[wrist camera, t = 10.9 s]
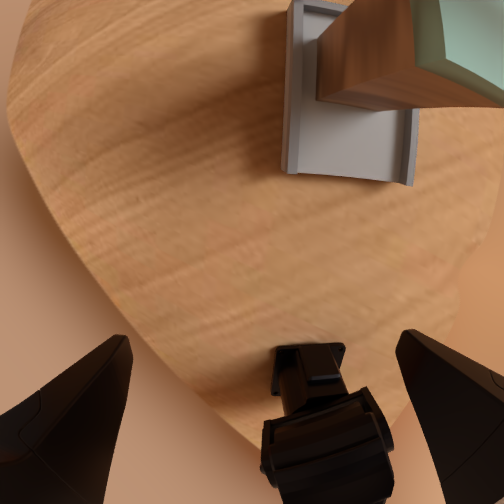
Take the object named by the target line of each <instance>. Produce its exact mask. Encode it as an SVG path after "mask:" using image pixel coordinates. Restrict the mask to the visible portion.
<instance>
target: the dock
mask: <svg viewBox="0 0 504 504" xmlns="http://www.w3.org/2000/svg"><path fill="white" fill-rule="evenodd" d="M347 7H348V6H345V5H341V4H336V3H332V2H327V1H322V0H292V1H291V3H290V5H289V7H288V9H287V35H286V67H285V93H284V115H283V136H282V154H281V170H283V171H284V172H285V173H287V174H297V173H311V174H323V175H335V176H345V177H355V178H364V179H373V180H381V181H389V182H396V183H401V184H403V185H406V186H413V182H414V174H415V165H416V155H417V144H418V129H419V108H418V109H403V110H391V111H381V112H377V111H373V110H368V109H363V108H358V107H352V106H347V105H341V104H335V103H328V102H322V101H315V97H316V69H317V38H318V37H319V36H320V35H321V34H322V33H323V32H324V31H325V30H326V29H327V27H328V26H329V25H330V24H331V23H332V22H333V21H334V20H335V19H336V18H337V17H338V16H339V15H340V14H341V13H342V12H343V11H344V10H345V9H346V8H347Z"/></svg>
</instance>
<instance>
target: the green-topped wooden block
mask: <svg viewBox="0 0 504 504" xmlns="http://www.w3.org/2000/svg"><path fill="white" fill-rule="evenodd" d="M315 101H322V102H328V103H335V104H341V105H347V106H352V107H358V108H363V109H368V110H373V111H377V112H381V111H391V110H403V109H418V108H439V107H489V108H504V0H355V1H354V2H353V3H352V4H351V5H349V6H348V7H347V8H346V9H345V10H344V11H343V12H342V13H341V14H340V15H339V16H338V17H337V18H336V19H335V20H334V21H333V22H332V23H331V24H330V25H329V26H328V27H327V29H326V30H325V31H324V32H323V33H322V34H321V35H320V36H319V37H318V38H317V69H316V97H315Z"/></svg>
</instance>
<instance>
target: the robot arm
mask: <svg viewBox="0 0 504 504" xmlns="http://www.w3.org/2000/svg"><path fill="white" fill-rule="evenodd" d="M339 348H340V349H339ZM345 350H346V347H345V345H344V344H343V343H331V344H316V345H297V346H280V347H278V348H277V349H276V351H275V359H274V367H273V375H272V383H271V395H272V396H281V399H282V405H283V410H284V415H285V416H284V417H281V418H277V419H273V420H271V419H270V420H266V421H264V428H263V429H262V447H261V465H260V471H261V472H262V473H263V474H265V475H266V476H267V478H268V480H269V482H270V484H271V485H272V486H273V488H278V489H279V492H280V495H281V498H282V501H283V504H385V502H386V499H387V498H389V497H391V494H392V491H393V487H394V473H393V470H392V466H391V463H390V460H389V456H388V452H391V451H393V450H394V443H393V439H392V435H391V432H390V429H389V426H388V423H387V421H386V419H385V417H384V415H383V413H382V411H381V409H380V408H379V406H378V404H377V403H376V401H375V399H374V398H373V396H372V395H371V393H370V391H369V390H368V388H367V386H366V387H363V388H361V389H360V390H359V391H356V392H354V393H351V394H349V393H348V391H347V388H346V386H345V383H344V381H343V378H342V376H341V373H340V370H339V369H340V366H341V363H342V360H343V356H344V353H345ZM280 351H283V352H280ZM395 353H396V357H397V360H398V364H399V367H400V370H401V373H402V377H403V380H404V383H405V386H406V389H407V392H408V395H409V397H410V400H411V402H412V404H413V407H414V410H415V412H416V415H417V417H418V420H419V423H420V425H421V428H422V431H423V433H424V436H425V439H426V442H427V444H428V447H429V450H430V453H431V456H432V459H433V462H434V465H435V468H436V471H437V474H438V477H439V480H440V483H441V488H442V491H443V494H444V498H445V502H446V504H504V377H503V376H502V375H500V374H498V373H496V372H494V371H492V370H490V369H488V368H486V367H485V366H483V365H481V364H479V363H477V362H475V361H473V360H471V359H470V358H468V357H466V356H464V355H462V354H460V353H458V352H457V351H455V350H453V349H451V348H449V347H447V346H445V345H443V344H441V343H440V342H438V341H436V340H434V339H432V338H430V337H428V336H426V335H424V334H423V333H421V332H419V331H417V330H415V329H408V330H404V331H403V332H402V333H401V336H400V339H399V341H398V344H397V346H396V350H395ZM132 364H133V354H132V350H131V346H130V342H129V339H128V337H127V336H126V335H118V334H115V335H113V336H112V337H110V338H109V339H108V340H106V341H105V342H103V343H102V344H101V345H99V346H98V347H96V348H95V349H94V350H93V351H91V352H90V353H88V354H87V355H85V356H84V357H83V358H81V359H80V360H79V361H77V362H76V363H74V364H73V365H72V366H70V367H69V368H68V369H66V370H65V371H64V372H62V373H61V374H59V375H58V376H57V377H55V378H54V379H53V380H51V381H50V382H49V383H47V384H46V385H45V386H43V387H42V388H40V390H38V391H36V392H35V393H34V394H32V395H31V396H30V397H28V398H27V399H25V400H24V401H22V402H21V403H20V404H18V405H16V406H15V407H13V408H12V409H10V410H8V411H7V412H5V413H4V414H2V415H0V504H103V501H104V496H105V491H106V486H107V481H108V476H109V471H110V466H111V462H112V458H113V453H114V449H115V445H116V441H117V436H118V432H119V429H120V425H121V421H122V417H123V413H124V410H125V406H126V401H127V396H128V389H129V383H130V376H131V370H132Z"/></svg>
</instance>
